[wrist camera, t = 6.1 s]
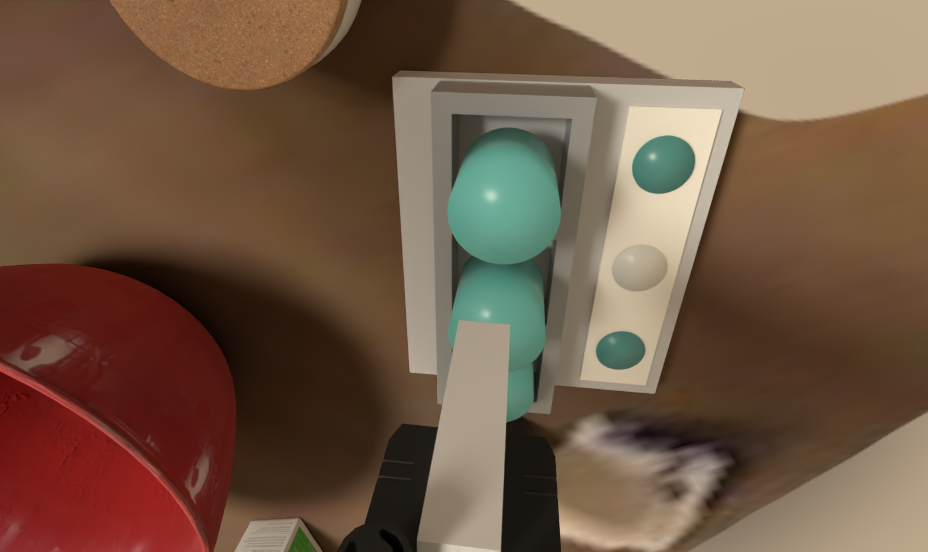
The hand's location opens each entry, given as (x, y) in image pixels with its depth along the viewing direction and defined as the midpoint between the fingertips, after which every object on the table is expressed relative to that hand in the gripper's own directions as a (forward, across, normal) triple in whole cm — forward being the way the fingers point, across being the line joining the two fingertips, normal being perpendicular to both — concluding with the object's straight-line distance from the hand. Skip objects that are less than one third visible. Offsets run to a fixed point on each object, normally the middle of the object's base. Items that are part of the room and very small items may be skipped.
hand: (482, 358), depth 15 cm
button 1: (+13, 0, +1) cm, 13 cm away
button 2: (+13, 0, -5) cm, 14 cm away
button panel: (+18, +3, -5) cm, 19 cm away
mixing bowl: (+18, -29, -18) cm, 39 cm away
